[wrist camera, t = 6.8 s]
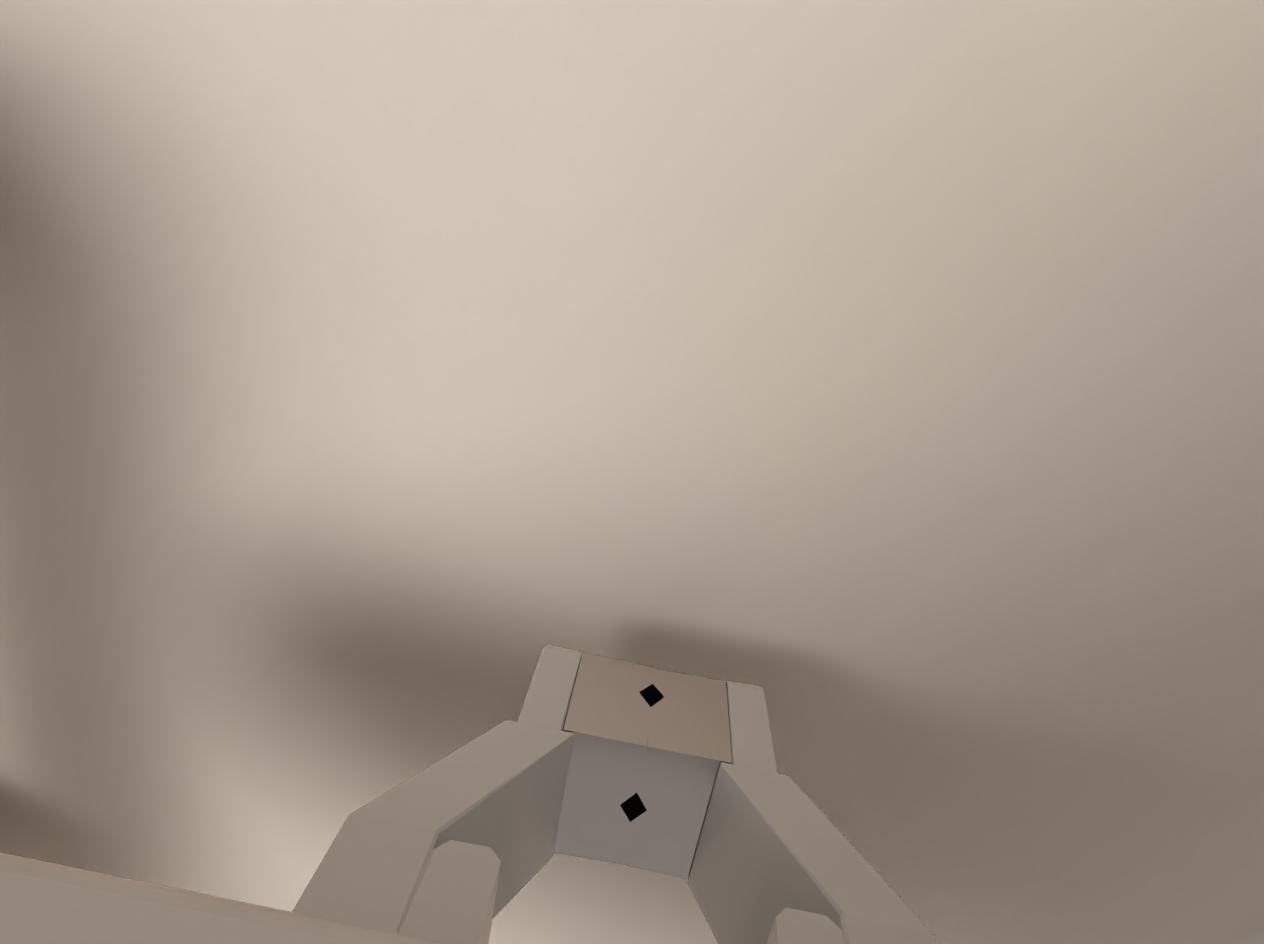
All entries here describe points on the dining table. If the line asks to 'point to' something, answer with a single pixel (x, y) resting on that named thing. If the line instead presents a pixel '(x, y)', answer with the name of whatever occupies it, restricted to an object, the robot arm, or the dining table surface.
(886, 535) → the dining table surface
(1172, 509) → the dining table surface
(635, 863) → the robot arm
